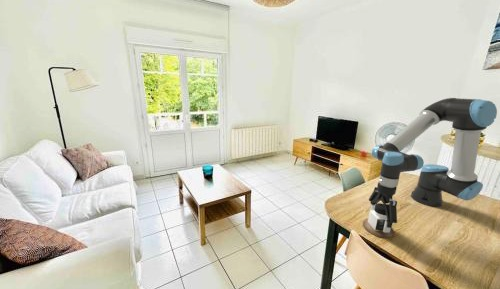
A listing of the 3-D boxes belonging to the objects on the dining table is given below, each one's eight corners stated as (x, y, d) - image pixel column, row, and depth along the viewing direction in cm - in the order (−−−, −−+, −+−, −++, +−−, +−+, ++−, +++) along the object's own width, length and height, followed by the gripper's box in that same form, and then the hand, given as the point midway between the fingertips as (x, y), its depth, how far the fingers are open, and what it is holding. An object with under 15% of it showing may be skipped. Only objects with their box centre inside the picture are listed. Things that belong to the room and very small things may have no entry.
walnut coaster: (382, 220, 110) (383, 218, 110) (399, 238, 98) (399, 236, 98) (358, 220, 111) (358, 218, 110) (371, 237, 98) (372, 235, 98)
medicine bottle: (375, 231, 101) (379, 210, 97) (367, 221, 107) (371, 201, 104) (389, 231, 100) (394, 210, 97) (381, 221, 107) (385, 201, 104)
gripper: (366, 173, 109) (359, 208, 115) (396, 197, 86) (385, 240, 92) (380, 173, 108) (373, 209, 115) (414, 198, 85) (402, 241, 92)
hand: (378, 223), depth 103 cm, fingers open, 12 cm apart
